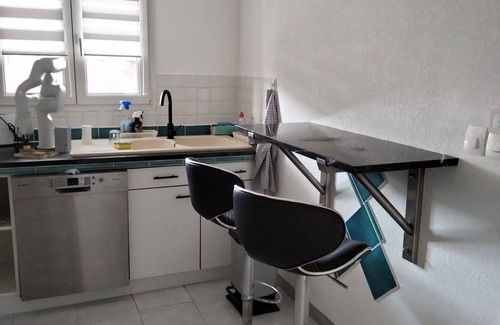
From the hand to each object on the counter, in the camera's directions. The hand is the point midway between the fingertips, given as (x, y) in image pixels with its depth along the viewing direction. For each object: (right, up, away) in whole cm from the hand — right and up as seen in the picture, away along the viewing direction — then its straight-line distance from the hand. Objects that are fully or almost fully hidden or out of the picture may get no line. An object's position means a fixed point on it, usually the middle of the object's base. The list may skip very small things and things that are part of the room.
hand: (26, 145), depth 285 cm
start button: (0, -2, +1) cm, 3 cm away
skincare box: (+18, -4, +12) cm, 22 cm away
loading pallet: (+7, -6, -1) cm, 9 cm away
